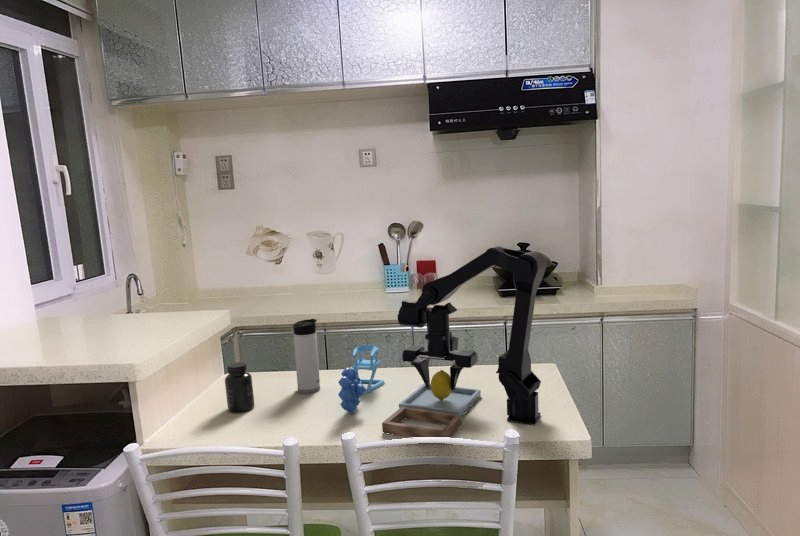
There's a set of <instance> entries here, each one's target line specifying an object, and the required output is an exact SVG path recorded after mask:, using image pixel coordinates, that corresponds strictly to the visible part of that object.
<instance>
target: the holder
mask: <svg viewBox="0 0 800 536" xmlns="http://www.w3.org/2000/svg"><path fill="white" fill-rule="evenodd" d="M405 418H406V420H410V419H413V420H412V421H417V420H419V421H418V422H423V421H425V422H424V423H429V422H430V423H431V424H437V425H442V424H444V425H443V426H444V427H443V428H442V429H436V428H430V427H424V426H420V425H419V426H418V425H412V424H407V423H406V424H405V423H402V422H403V421H404V420H405ZM402 420H403V421H402ZM401 421H402V422H401ZM400 422H401V423H400ZM462 424H463V416H462V415H458V414H451V413H444V412H437V411H431V410H424V409H417V408H410V407H403V406H402V407H401V408H400V409H399V408H398V409H397V410H396V411H395V412H393V413H392V414H391V415H390V416H389V417H387V418H386V419H385V420H384V421H382V423H381V427H382V428H381V429H382V433H383V432H384V433H389V434H393V435H392V436H395V437H403V438H407V437H451V438H452V437H453V436H454V435H455V434H456V433H457V432H458V431H459V429H460V428H461V427H462V426H463V425H462ZM461 425H462V426H461ZM460 426H461V427H460ZM459 427H460V428H459ZM456 431H457V432H456ZM455 432H456V433H455ZM384 433H383V434H384ZM454 433H455V434H454ZM389 434H388V435H389ZM453 434H454V435H453Z"/></svg>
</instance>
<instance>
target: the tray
mask: <svg viewBox="0 0 800 536" xmlns="http://www.w3.org/2000/svg"><path fill="white" fill-rule="evenodd" d="M481 395H482V393H481V389H477V388H469V387H462V386H461V387H459V386H456V387H455V389H454V390H453V391H451V394H450V395H449V396H448V397H447V398H444V399H443V400H442V401H440V400H439V399H438V398H436V397H435V396H434V395H433V393H432V391H431V383H430V386H429V387H426V385H425V383H424V382H423V384H422V385H421V386H419V387H418V388H417V389H416V390H414V391H413V392H412V393H410V394H409V395H408V396H407V397H406V398H404V399H402V401H401V402H399V403H398V409H400V408H401V407H402V406H403V407H410V408H417V409H424V410H431V411H437V412H444V413H451V414H458V415H463V414H464V413H465V412H466V411H467V410H468V409H469V408H470V409H471V407H472V406H473V405H474V404H475V403H476V402H477V401H478V400H479V399H480V398H481V397H480V396H481ZM479 397H480V398H479ZM478 398H479V399H478ZM477 399H478V400H477ZM476 400H477V401H476ZM475 401H476V402H475ZM474 402H475V403H474ZM473 403H474V404H473ZM472 404H473V405H472ZM471 405H472V406H471ZM470 406H471V407H470ZM470 409H469V410H470ZM469 410H468V411H469ZM468 411H467V412H468ZM467 412H466V413H467ZM466 413H465V414H466ZM465 414H464V415H465ZM464 415H463V416H464Z"/></svg>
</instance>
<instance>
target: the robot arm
mask: <svg viewBox="0 0 800 536" xmlns="http://www.w3.org/2000/svg"><path fill="white" fill-rule="evenodd" d="M547 264H548V263H547V259H546V258H545V256H544V255H543V254H542V253H541V252H539V251H534V250H533V251H528V252H525V251H522V250H515V249H511V248H510V249H509V248H506V247H503V246H501V245H496V246H493V247H490V248H489V247H488V249H486V250H485V252H483V253H482V254H480V255H478V256H477V257H475V258H473V259H472V260H470V261H469V262H467V263H466V264H464V265H462V266H461V267H459V268H458V269H456V270H455V271H452V272H451V273H449V274H447V275H444V276H442V277H439V278H437V279H434V280H431V281H428V282H426V283H424V284H423V286H422V288H421V294H420V296H419V297H418V299H417V300H410V299H405V300H402V301H401V305H400V307H399V310H398V314H397V320H398V324H399V325H400V326H401V327H409V328H419V329H420V328H424V327H425V325H426V334H425V336H424V338H425V340H426V342H427V350H425V347H424V346H423V345H414V344H413V345H410V346H408V347H407V348H405V349H403V351H402V354H401V361H403V362H408V363H410V365H411V366H413V367H414V368H415V369H416V371H417V372H418V374H419V375H420V377H421V379H422V381H423V384H424V383H425V385H426V387H429V386H430V384H431V379H430V378H431V377H430V368H429V365H430V360H439V361H440V360H441V361H447V362H449V361H450V362H452V363H453V364H452V365H451V366H450V367H449V375H450V379H451V389H452V391H453V390H454V389H455V387H457V383H458V380H459V377H460V374H461V371H462V370H463V369H465V368H466V369H470V368H473V367H474V365H475V364H477V363H478V361H479V359H478V357H479V356H478V354H477V351H475V350H466V349H461V350H460V351H459V352H458V353H453V352H454V351H458V348H459V338H458V337H456V336H453V333H452V330H451V329H450V315H451V314H454V313H455V312H457V311H458V309H457V307H455V306H454V305H453V304H452V303H451V302H447V303H445V305H443V304H440V303H442V302H445V301H448V300H449V299H450V298H451V297H452V296H453V295H454V294H455V293H457V292H458V290H459V289H460V288H461V287H462V286H463V285H465V284H467V282H470V281H471V280H473V279H475V278H476V277H478V276H480V275H482V274H483V273H484V272H486V271H488V270H489V269H491V268H493V267H494V266H496V267H498V268H500V269H502V270H503V271H506V272H510V273H512V280H513V283H514V287H515V292H516V294H515V299H514V307H513V313H512V314H513V316H512V322H511V330H510V337H509V338H510V339H509V342H508V343H509V345H508V350H507V351H505V352H504V353H502V354H500V356H498V367H497V371H495V373H496V374H498V381H499V383H501V385H502V386H503V387H504V390H505V393H506V396H507V399H506V415H507V418H506V421H507V422H512V423H520V424H527V425H536V423H537V421H538V419H539V418H540V417H541V412H539V392H538V391H537V390H538V389H540V386H541V383H542V380H541V379H540V378H539V377H538V376H537V375H536V374H535V373H534V372H533V371H532V359H531V356H530V352H529V347H530V346H529V345H530V339H531V332H532V323H533V317H534V309H535V303H536V295H537V292H538V289H539V287H540V285H541V283H542V281H543V278H544V275H545V272H546V269H547ZM430 306H433V307H430Z"/></svg>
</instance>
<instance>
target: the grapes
mask: <svg viewBox="0 0 800 536" xmlns="http://www.w3.org/2000/svg"><path fill="white" fill-rule="evenodd" d="M357 374H358V375H359V372H358V373H357V371H356V370H355V369H354V368H353V367H352V366H351V367H346V368H345V369H343V370H342V372H341V376H342V377H341V378H340V379H339V381H337V382H338V384H339V386H340V387H341V389H340V391H339V392H338V394H337V396H338V397H339V398H340V400H342V401H341V402H340V406H341V408H342V409H343V410H344V411H346V412H348V414H352V413H354V412H355V411H356V410H357V408H358V406H359V405H360V403H361V401H360V399H359V398H360V397H362V396H364V395H365V394H366V393H367V387H365V386H364V385H363V384H362V383H361V384H359V382H360V379H361V378H360V376H359V377H358V376H357Z"/></svg>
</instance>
